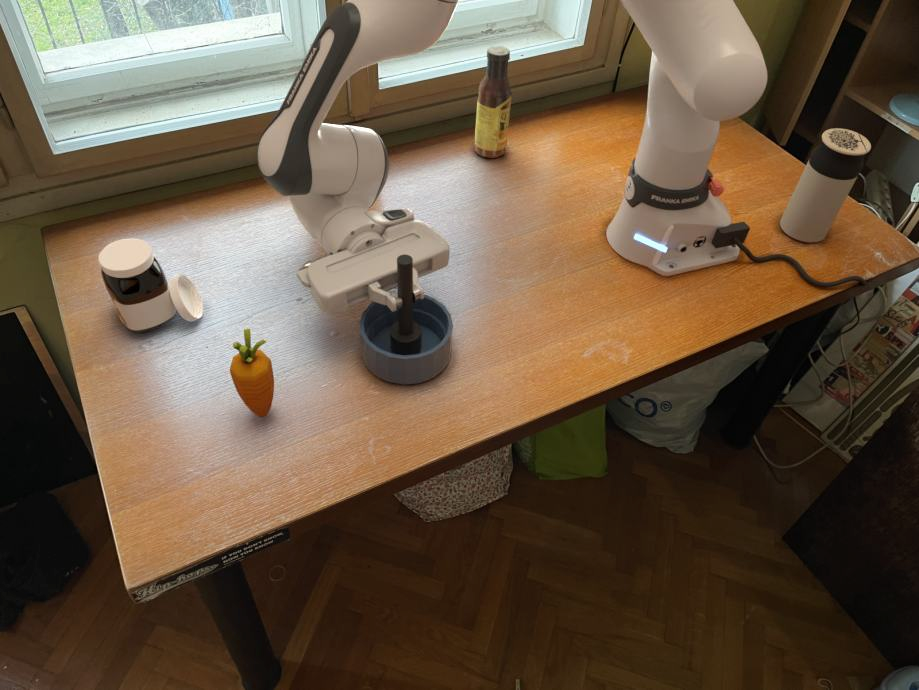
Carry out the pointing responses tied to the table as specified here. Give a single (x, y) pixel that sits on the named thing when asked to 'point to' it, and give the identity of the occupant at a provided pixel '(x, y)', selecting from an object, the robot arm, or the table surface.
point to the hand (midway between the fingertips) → (409, 301)
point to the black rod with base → (405, 312)
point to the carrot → (253, 376)
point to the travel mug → (824, 184)
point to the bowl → (407, 367)
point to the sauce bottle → (493, 105)
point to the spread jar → (145, 287)
